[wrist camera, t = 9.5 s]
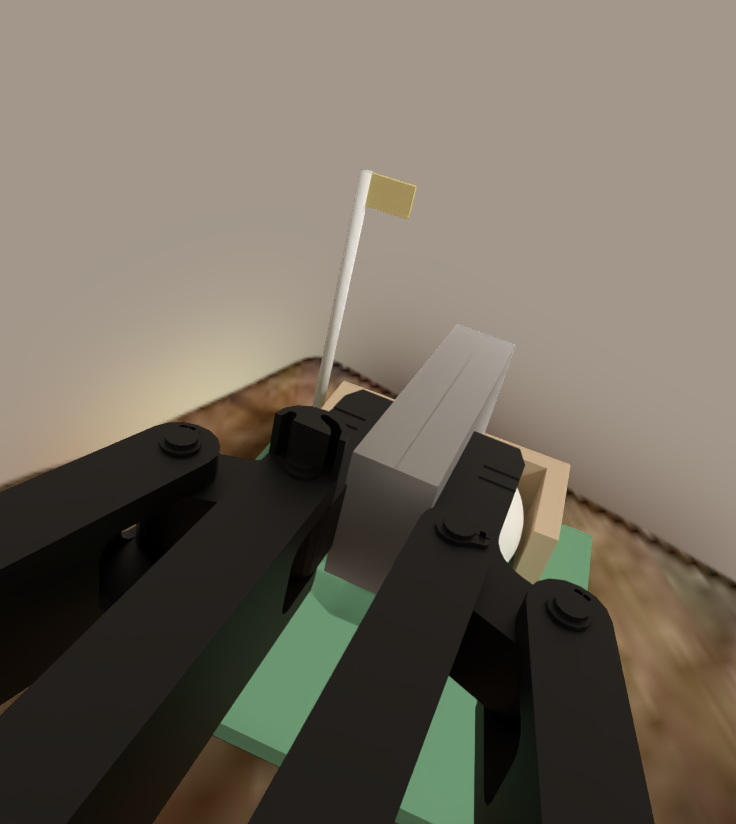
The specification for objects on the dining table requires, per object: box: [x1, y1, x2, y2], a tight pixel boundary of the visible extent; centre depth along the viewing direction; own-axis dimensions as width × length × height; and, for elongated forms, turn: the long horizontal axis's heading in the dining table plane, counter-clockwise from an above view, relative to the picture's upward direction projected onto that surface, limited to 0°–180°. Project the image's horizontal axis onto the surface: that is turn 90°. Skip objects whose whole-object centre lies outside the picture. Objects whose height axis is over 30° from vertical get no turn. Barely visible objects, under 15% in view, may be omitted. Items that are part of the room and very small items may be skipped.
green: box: [213, 169, 592, 824], centre depth 37 cm, size 24×26×21 cm
